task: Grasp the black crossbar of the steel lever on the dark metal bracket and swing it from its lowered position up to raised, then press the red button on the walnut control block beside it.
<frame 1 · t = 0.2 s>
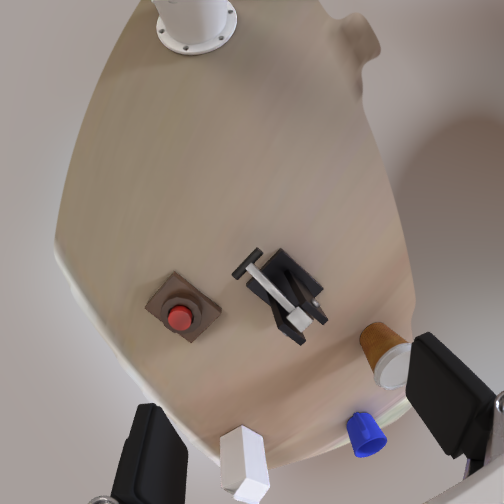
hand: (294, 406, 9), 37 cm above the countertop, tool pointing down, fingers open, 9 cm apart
disposable coffee cup: (373, 335, 53), on the countertop
lever: (275, 292, 38), point 9 cm above the countertop, hinge at -25.0°
button block: (183, 306, 47), on the countertop
mug: (356, 415, 60), on the countertop
milk carton: (241, 435, 58), on the countertop
bracket: (284, 285, 48), on the countertop
button: (180, 318, 44), point 4 cm above the countertop, slide at 0.1 cm
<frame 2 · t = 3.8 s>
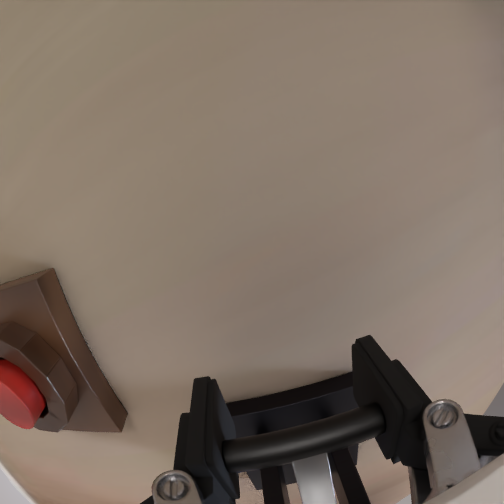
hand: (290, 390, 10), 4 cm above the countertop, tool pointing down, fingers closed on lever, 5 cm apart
button block: (43, 356, 13), on the countertop
bracket: (297, 437, 17), on the countertop
button: (13, 395, 10), point 4 cm above the countertop, slide at 0.1 cm
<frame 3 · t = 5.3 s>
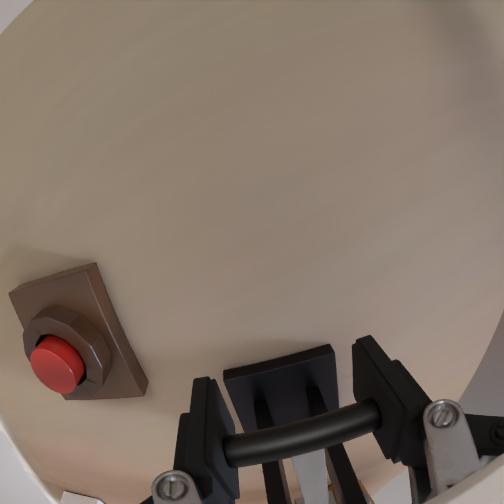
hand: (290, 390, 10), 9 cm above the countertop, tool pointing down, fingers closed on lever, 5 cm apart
disposable coffee cup: (338, 489, 28), on the countertop
lever: (314, 492, 9), point 11 cm above the countertop, hinge at 1.8°, touching gripper
button block: (79, 335, 18), on the countertop
milk carton: (92, 503, 27), on the countertop
bracket: (287, 402, 21), on the countertop
button: (57, 365, 15), point 4 cm above the countertop, slide at 0.1 cm
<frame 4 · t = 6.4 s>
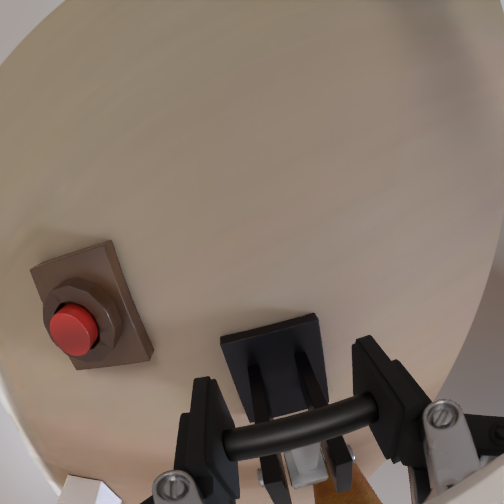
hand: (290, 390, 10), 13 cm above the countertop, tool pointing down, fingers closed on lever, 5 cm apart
disposable coffee cup: (333, 468, 31), on the countertop
lever: (304, 456, 11), point 13 cm above the countertop, hinge at 22.3°, touching gripper
button block: (93, 307, 22), on the countertop
milk carton: (95, 486, 30), on the countertop
bracket: (278, 370, 25), on the countertop
button: (73, 329, 18), point 4 cm above the countertop, slide at 0.1 cm
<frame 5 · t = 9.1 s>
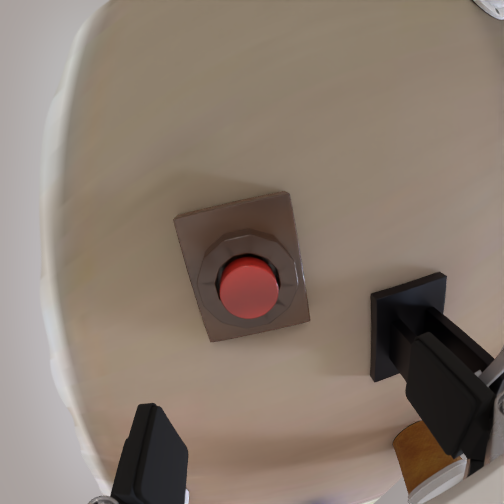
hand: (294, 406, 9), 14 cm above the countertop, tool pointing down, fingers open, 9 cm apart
disposable coffee cup: (410, 433, 32), on the countertop
lever: (497, 367, 12), point 13 cm above the countertop, hinge at 22.7°
button block: (245, 266, 22), on the countertop
bracket: (406, 326, 25), on the countertop
button: (248, 287, 18), point 4 cm above the countertop, slide at 0.1 cm
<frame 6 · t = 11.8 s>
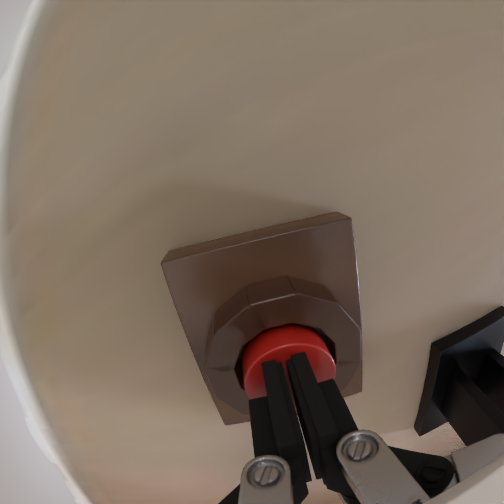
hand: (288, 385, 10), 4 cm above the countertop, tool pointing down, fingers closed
button block: (274, 325, 14), on the countertop
bracket: (460, 372, 18), on the countertop
button: (287, 368, 11), point 4 cm above the countertop, slide at -0.3 cm, touching gripper
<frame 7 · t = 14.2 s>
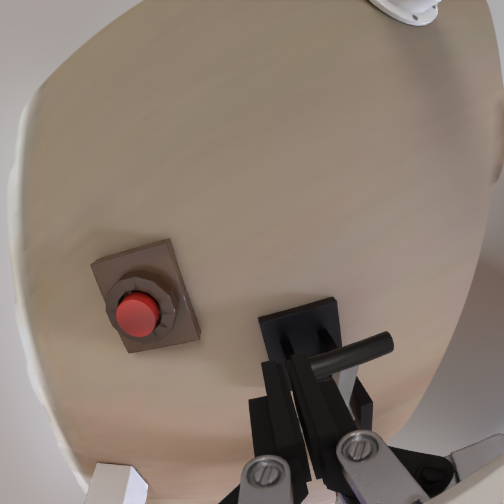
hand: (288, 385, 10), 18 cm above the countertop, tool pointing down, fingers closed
lever: (340, 395, 17), point 13 cm above the countertop, hinge at 22.7°
button block: (148, 296, 27), on the countertop
milk carton: (123, 473, 35), on the countertop
bracket: (303, 346, 30), on the countertop
button: (137, 314, 24), point 4 cm above the countertop, slide at 0.1 cm
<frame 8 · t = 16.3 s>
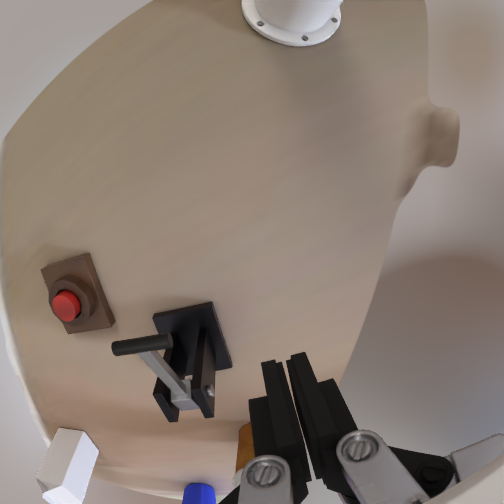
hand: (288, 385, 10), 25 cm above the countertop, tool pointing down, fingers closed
disposable coffee cup: (257, 431, 44), on the countertop
lever: (167, 376, 24), point 13 cm above the countertop, hinge at 22.7°
button block: (79, 293, 34), on the countertop
mug: (199, 483, 49), on the countertop
milk carton: (79, 438, 43), on the countertop
bracket: (194, 339, 38), on the countertop
button: (66, 305, 31), point 4 cm above the countertop, slide at 0.1 cm
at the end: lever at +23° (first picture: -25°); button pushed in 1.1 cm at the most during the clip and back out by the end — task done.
